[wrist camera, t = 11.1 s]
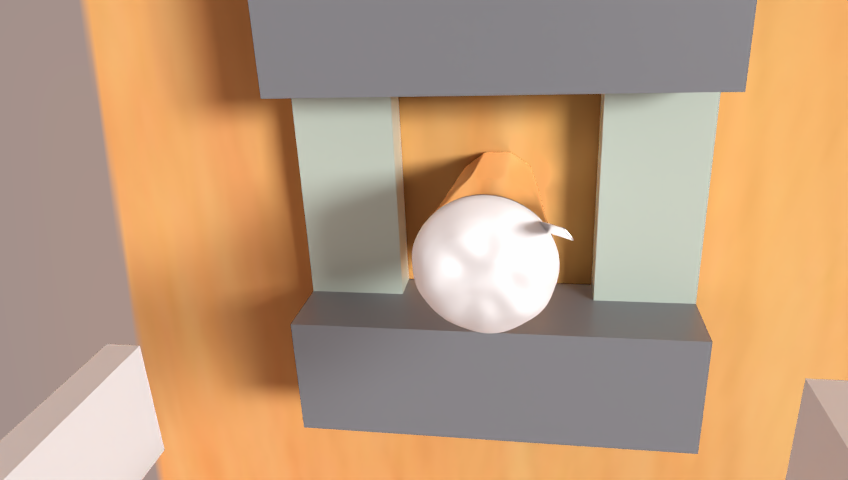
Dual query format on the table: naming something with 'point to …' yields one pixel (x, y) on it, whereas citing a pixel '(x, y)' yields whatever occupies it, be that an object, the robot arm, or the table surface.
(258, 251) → the table surface
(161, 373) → the table surface
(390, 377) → the frame
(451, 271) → the milkshake
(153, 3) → the table surface
